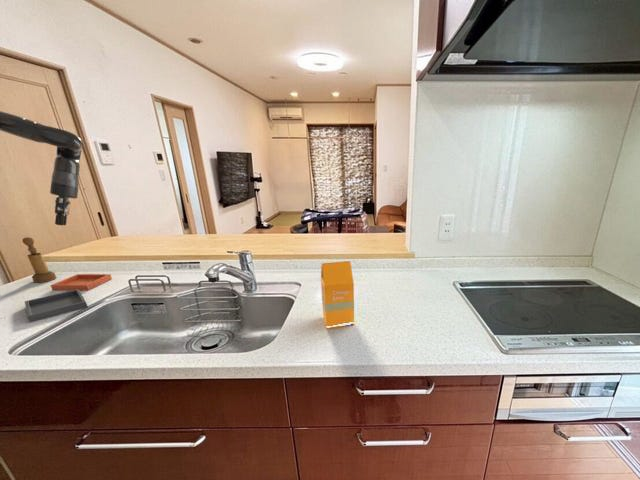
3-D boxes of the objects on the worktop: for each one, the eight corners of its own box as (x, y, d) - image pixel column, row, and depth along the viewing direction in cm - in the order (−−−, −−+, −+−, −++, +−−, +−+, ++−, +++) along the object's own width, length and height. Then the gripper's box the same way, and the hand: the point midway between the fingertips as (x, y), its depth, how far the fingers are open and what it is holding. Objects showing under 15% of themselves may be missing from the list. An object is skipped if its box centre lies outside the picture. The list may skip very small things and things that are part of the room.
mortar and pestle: (56, 275, 127) (39, 234, 120) (56, 279, 123) (38, 237, 116) (34, 279, 123) (14, 237, 116) (33, 284, 118) (13, 240, 112)
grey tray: (27, 306, 101) (24, 301, 100) (80, 294, 111) (78, 288, 110) (30, 322, 92) (27, 316, 91) (87, 307, 101) (85, 301, 100)
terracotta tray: (52, 290, 113) (50, 285, 113) (79, 278, 124) (77, 274, 123) (88, 290, 114) (86, 285, 113) (112, 278, 124) (110, 274, 124)
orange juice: (354, 325, 92) (353, 265, 85) (326, 329, 90) (323, 268, 82) (348, 313, 99) (347, 257, 92) (322, 316, 97) (319, 259, 89)
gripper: (54, 183, 120) (49, 223, 120) (48, 179, 109) (43, 222, 110) (79, 188, 125) (75, 226, 125) (76, 185, 114) (72, 227, 115)
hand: (60, 225), depth 117 cm, fingers open, 8 cm apart
